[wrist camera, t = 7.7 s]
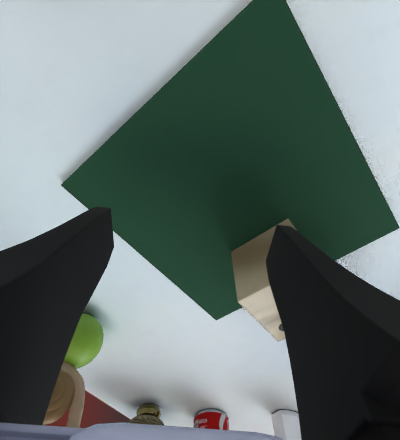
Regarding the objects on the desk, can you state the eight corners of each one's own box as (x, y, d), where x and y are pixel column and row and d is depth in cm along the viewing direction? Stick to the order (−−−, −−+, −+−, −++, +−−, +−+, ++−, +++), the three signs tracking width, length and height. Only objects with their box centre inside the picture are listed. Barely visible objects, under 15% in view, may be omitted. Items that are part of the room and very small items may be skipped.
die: (288, 217, 22) (319, 261, 25) (230, 251, 24) (264, 288, 27) (313, 263, 17) (349, 313, 20) (237, 302, 19) (278, 343, 22)
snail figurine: (102, 342, 33) (54, 471, 22) (54, 319, 31) (-23, 449, 20) (126, 321, 30) (85, 453, 20) (76, 295, 28) (2, 427, 18)
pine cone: (161, 392, 38) (151, 463, 32) (180, 414, 42) (175, 483, 35) (117, 399, 40) (98, 469, 33) (138, 421, 43) (126, 488, 37)
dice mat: (396, 225, 23) (399, 228, 23) (216, 317, 30) (216, 320, 29) (273, -20, 15) (275, -22, 15) (63, 183, 22) (60, 185, 21)
